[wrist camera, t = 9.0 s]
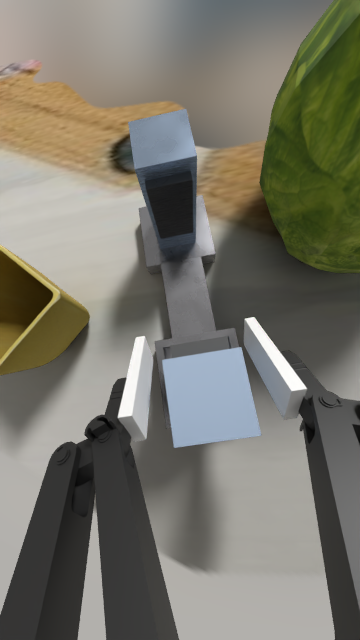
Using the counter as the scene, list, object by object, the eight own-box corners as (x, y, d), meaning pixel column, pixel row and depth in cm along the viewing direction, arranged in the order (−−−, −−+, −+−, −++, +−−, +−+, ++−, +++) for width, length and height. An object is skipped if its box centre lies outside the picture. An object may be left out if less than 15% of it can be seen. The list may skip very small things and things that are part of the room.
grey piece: (201, 207, 26) (207, 83, 14) (245, 406, 20) (314, 475, 9) (142, 219, 26) (100, 108, 14) (170, 417, 21) (139, 498, 9)
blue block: (216, 343, 20) (238, 332, 10) (226, 394, 19) (261, 435, 9) (176, 350, 20) (160, 345, 10) (184, 400, 19) (174, 447, 9)
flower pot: (64, 280, 25) (-6, 240, 17) (110, 315, 24) (60, 292, 15) (21, 331, 24) (-77, 317, 16) (66, 371, 23) (-15, 381, 14)
